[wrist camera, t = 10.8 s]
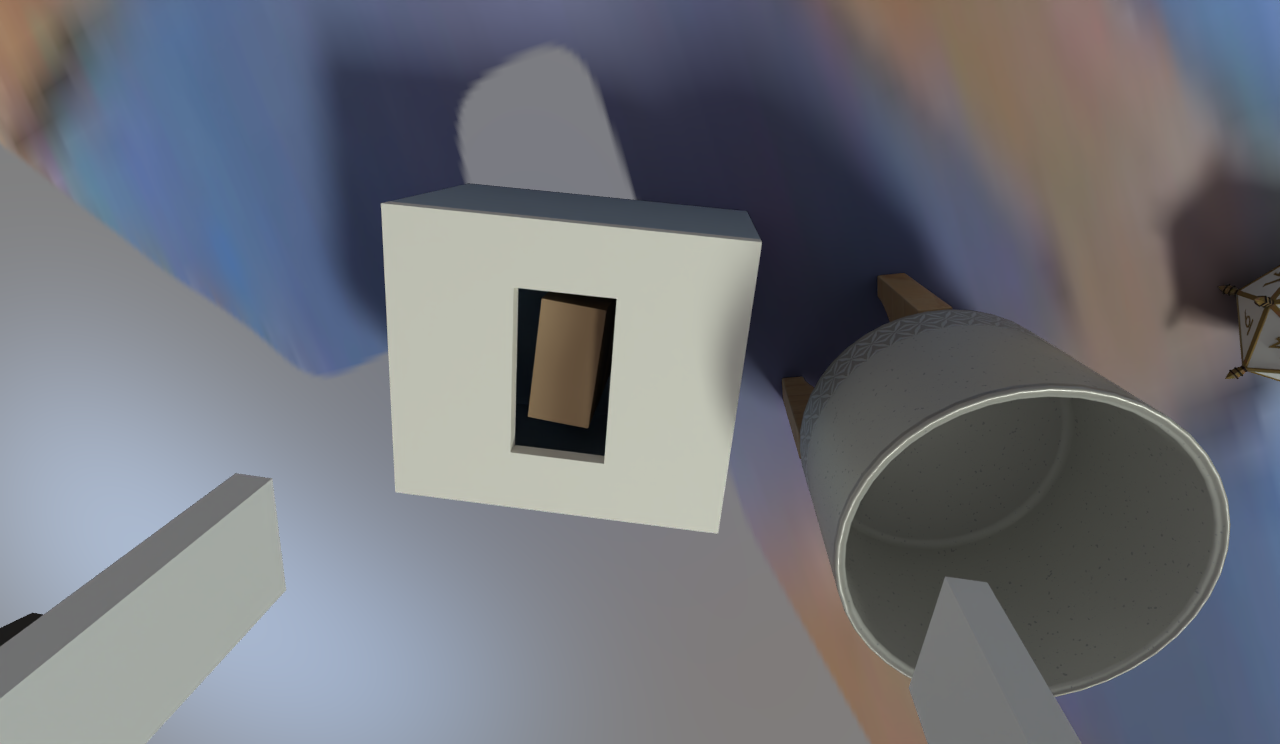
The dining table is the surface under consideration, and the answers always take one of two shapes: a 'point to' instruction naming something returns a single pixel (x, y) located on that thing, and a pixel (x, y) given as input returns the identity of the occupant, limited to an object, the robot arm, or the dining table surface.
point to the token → (572, 357)
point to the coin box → (507, 335)
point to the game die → (1258, 325)
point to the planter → (1004, 491)
